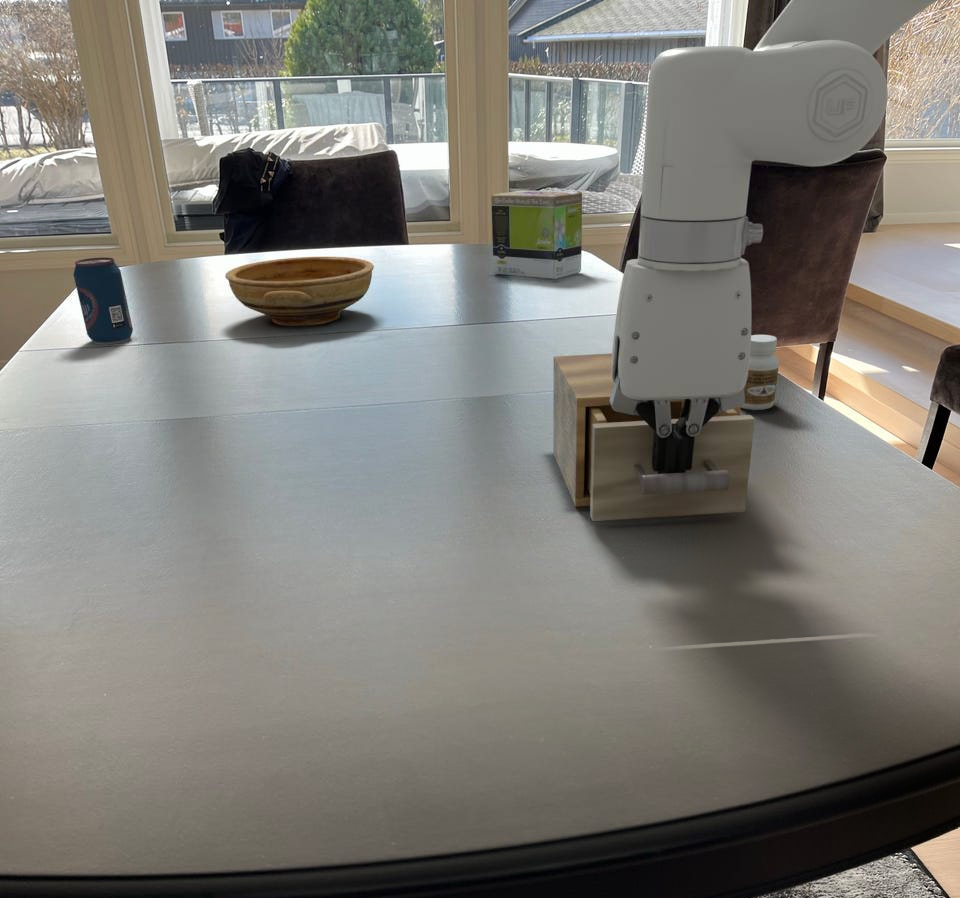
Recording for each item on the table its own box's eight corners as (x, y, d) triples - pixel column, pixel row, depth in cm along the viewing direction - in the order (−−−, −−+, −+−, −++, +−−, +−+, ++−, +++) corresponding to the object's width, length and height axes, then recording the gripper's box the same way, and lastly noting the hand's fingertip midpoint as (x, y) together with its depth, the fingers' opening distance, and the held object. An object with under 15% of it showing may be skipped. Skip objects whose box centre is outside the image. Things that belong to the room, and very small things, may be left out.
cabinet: (731, 497, 90) (742, 388, 85) (575, 507, 89) (576, 398, 84) (690, 445, 103) (698, 348, 98) (553, 453, 102) (553, 356, 97)
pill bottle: (745, 412, 112) (752, 344, 108) (728, 402, 115) (734, 335, 112) (780, 408, 112) (789, 340, 109) (762, 398, 116) (769, 332, 112)
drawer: (762, 534, 81) (774, 437, 76) (602, 544, 80) (605, 447, 76) (703, 459, 96) (710, 375, 92) (568, 467, 96) (569, 383, 92)
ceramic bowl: (255, 302, 178) (249, 255, 173) (388, 298, 176) (384, 251, 172) (210, 341, 152) (201, 287, 148) (365, 337, 151) (360, 283, 147)
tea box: (582, 272, 192) (584, 190, 185) (553, 281, 185) (554, 196, 178) (521, 266, 200) (520, 187, 193) (491, 274, 194) (489, 193, 186)
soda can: (81, 341, 155) (62, 261, 149) (121, 333, 159) (104, 255, 153) (102, 347, 151) (83, 265, 145) (142, 339, 155) (126, 259, 149)
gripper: (773, 232, 75) (745, 459, 85) (581, 238, 75) (574, 466, 84) (808, 247, 69) (773, 491, 78) (598, 253, 68) (588, 499, 77)
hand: (670, 478), depth 81 cm, fingers closed
